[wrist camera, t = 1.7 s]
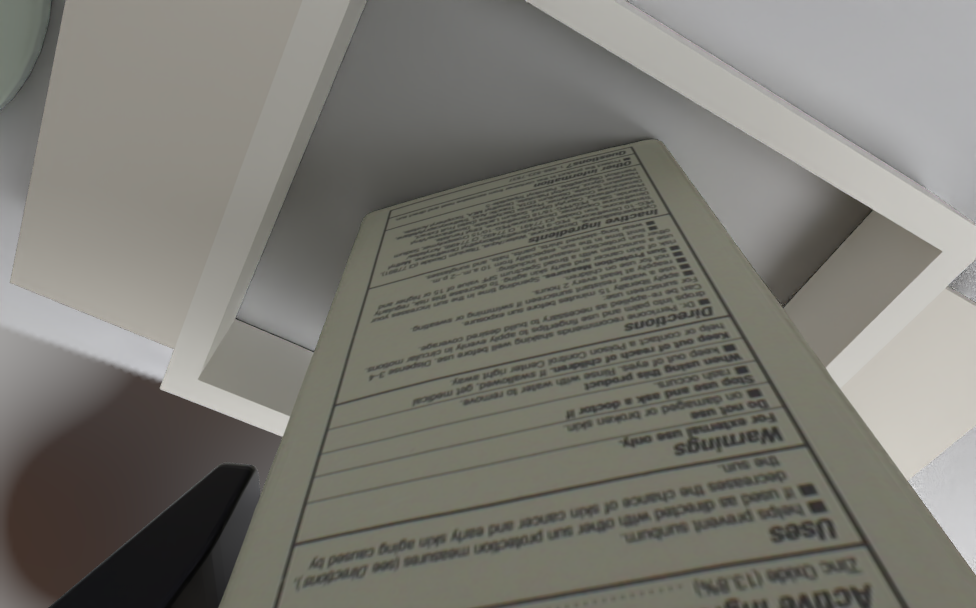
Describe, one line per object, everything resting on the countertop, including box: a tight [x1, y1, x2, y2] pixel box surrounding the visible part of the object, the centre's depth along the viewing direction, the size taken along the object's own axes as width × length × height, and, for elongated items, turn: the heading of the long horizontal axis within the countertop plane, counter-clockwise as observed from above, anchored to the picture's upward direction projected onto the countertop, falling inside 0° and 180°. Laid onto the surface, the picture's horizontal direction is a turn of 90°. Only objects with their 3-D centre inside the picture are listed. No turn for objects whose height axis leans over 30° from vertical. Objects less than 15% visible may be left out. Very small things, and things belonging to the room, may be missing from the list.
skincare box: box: [218, 139, 976, 608], centre depth 9 cm, size 6×4×12 cm
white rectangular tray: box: [10, 0, 976, 481], centre depth 13 cm, size 18×10×2 cm, turn 62°
